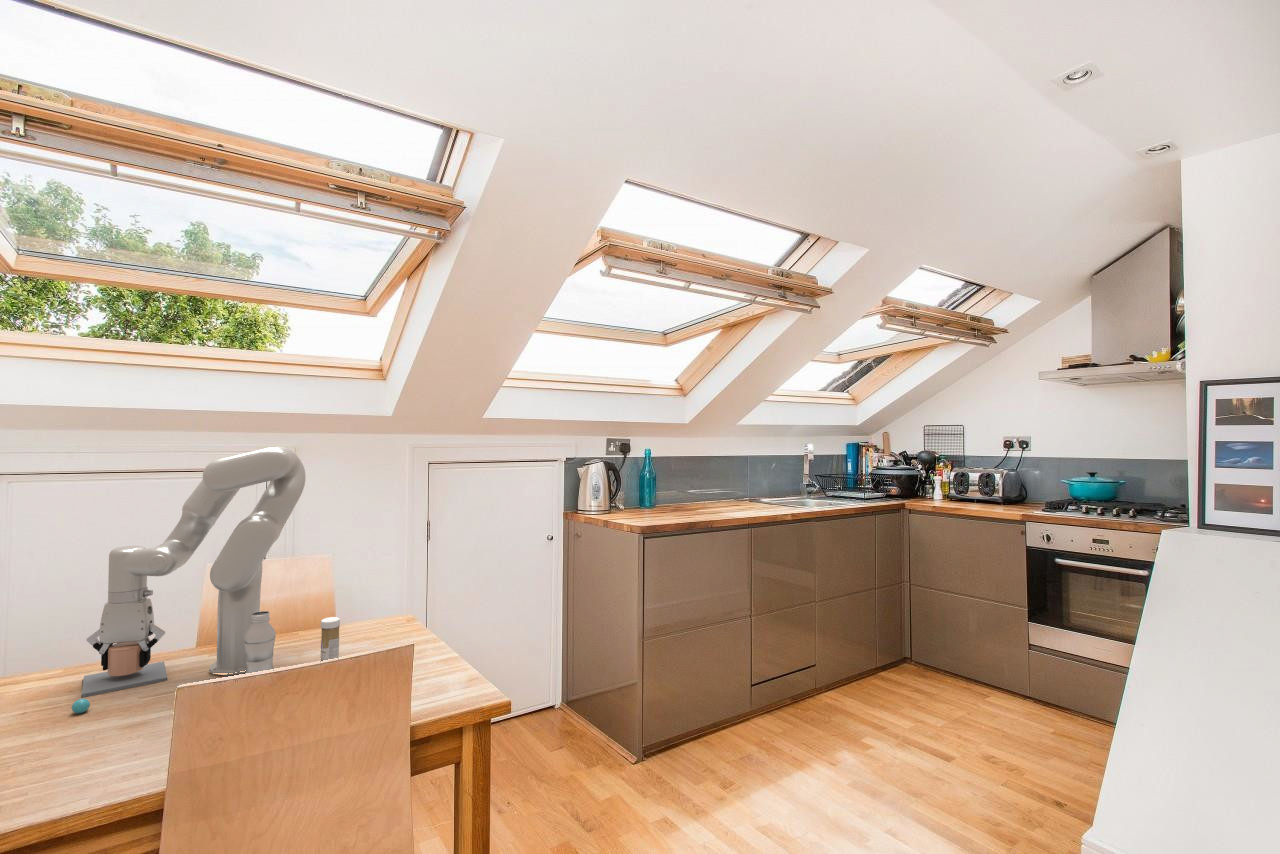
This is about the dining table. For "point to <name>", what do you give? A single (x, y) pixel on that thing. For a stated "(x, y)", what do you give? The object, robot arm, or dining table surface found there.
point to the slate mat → (123, 680)
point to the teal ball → (80, 706)
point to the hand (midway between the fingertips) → (126, 666)
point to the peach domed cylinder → (124, 658)
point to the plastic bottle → (259, 643)
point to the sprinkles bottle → (330, 638)
